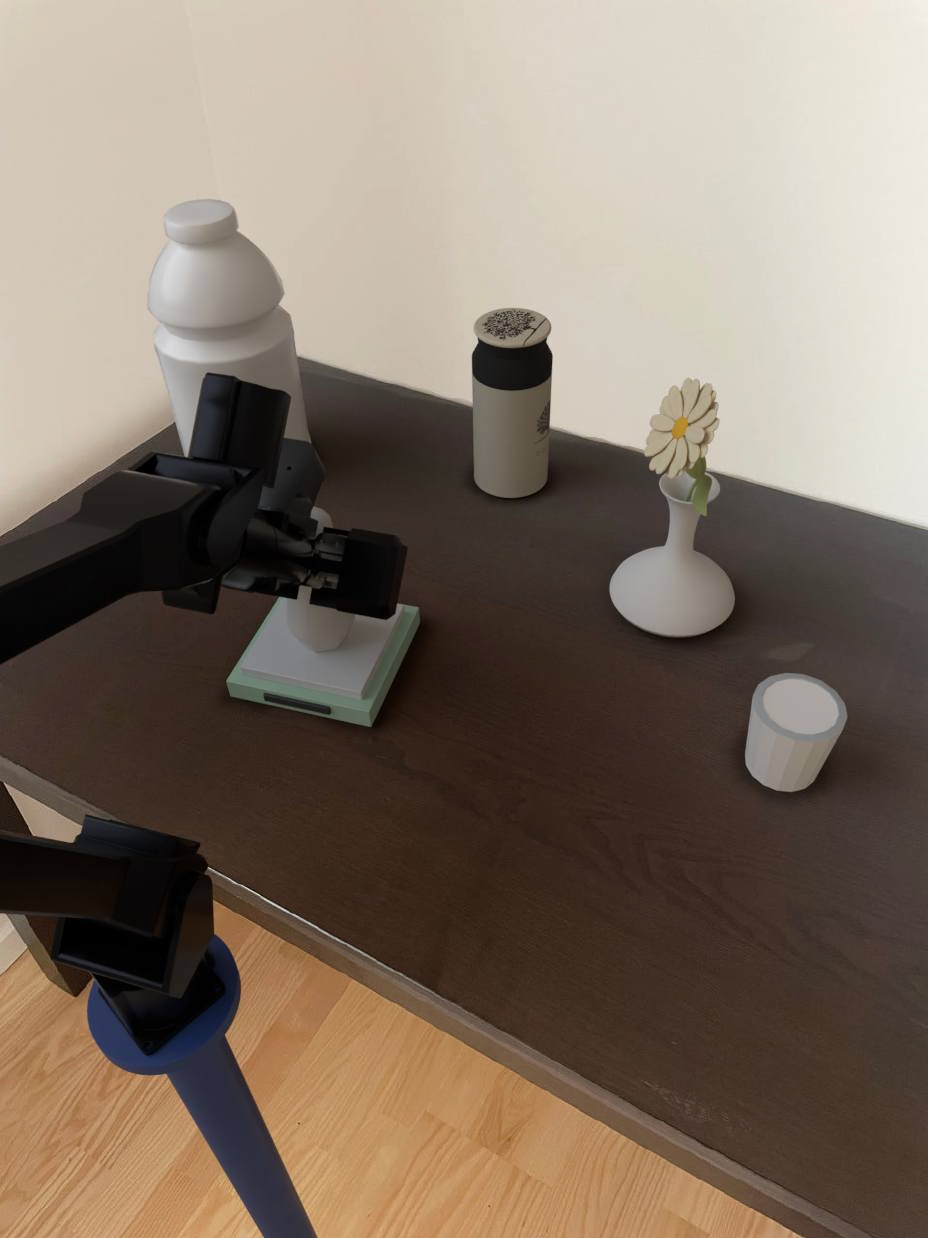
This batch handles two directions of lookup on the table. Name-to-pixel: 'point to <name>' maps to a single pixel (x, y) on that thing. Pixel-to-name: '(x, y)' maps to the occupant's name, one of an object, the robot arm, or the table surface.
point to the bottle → (220, 313)
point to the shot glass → (792, 730)
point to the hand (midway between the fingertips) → (320, 568)
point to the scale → (325, 666)
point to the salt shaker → (317, 611)
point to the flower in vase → (678, 526)
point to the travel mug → (511, 401)
